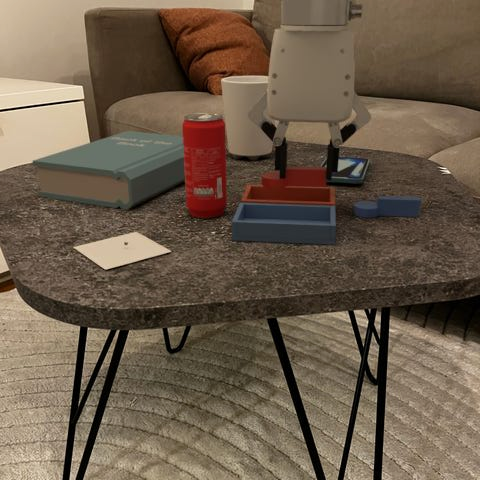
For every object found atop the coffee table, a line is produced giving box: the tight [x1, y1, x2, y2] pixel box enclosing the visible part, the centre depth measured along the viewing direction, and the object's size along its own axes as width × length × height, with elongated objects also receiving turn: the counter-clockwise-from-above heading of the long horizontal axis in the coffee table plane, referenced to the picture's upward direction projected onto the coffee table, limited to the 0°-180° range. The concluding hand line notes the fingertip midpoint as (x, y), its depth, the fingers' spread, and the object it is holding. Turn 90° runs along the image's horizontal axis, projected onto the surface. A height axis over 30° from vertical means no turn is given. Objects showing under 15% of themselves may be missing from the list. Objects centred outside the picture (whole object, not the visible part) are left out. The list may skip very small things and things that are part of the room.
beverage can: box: [181, 112, 228, 219], centre depth 74 cm, size 5×5×12 cm
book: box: [31, 130, 185, 211], centre depth 88 cm, size 23×16×5 cm
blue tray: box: [231, 202, 337, 246], centre depth 70 cm, size 12×7×2 cm, turn 83°
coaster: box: [72, 231, 173, 271], centre depth 65 cm, size 8×8×1 cm
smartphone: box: [319, 156, 371, 185], centre depth 94 cm, size 7×1×15 cm
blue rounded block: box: [352, 195, 422, 219], centre depth 75 cm, size 8×3×2 cm, turn 83°
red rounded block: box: [261, 165, 327, 188], centre depth 75 cm, size 8×3×2 cm, turn 83°
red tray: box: [240, 184, 336, 207], centre depth 77 cm, size 12×7×2 cm, turn 83°
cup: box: [220, 75, 276, 162], centre depth 101 cm, size 10×10×13 cm
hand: (305, 175), depth 75 cm, fingers closed on red rounded block, 5 cm apart
